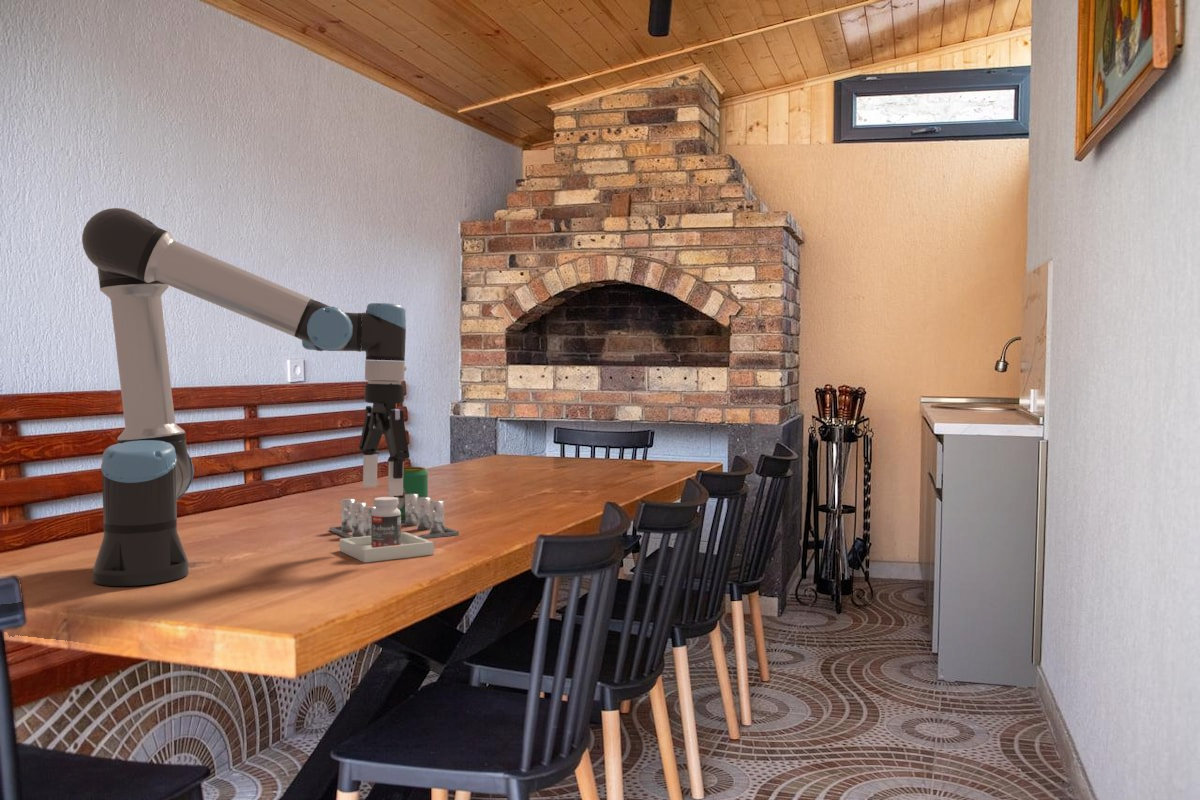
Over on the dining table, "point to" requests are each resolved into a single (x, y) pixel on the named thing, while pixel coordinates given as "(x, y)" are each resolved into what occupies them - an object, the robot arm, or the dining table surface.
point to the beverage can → (413, 485)
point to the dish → (386, 548)
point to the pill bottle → (385, 522)
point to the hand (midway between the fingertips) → (382, 491)
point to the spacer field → (416, 513)
